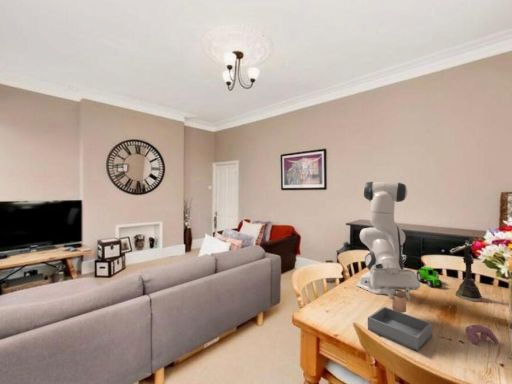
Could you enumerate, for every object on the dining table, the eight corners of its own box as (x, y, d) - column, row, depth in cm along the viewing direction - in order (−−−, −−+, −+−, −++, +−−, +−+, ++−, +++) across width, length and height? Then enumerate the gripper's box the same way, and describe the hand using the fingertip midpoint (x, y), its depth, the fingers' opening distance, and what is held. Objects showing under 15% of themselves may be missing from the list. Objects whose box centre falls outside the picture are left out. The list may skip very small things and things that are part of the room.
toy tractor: (427, 288, 156) (427, 272, 156) (414, 279, 172) (414, 264, 172) (446, 289, 154) (446, 273, 154) (432, 279, 171) (431, 265, 170)
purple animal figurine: (491, 343, 103) (484, 324, 106) (501, 344, 98) (493, 324, 102) (467, 343, 103) (461, 324, 106) (476, 344, 99) (469, 325, 102)
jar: (390, 309, 108) (390, 291, 108) (395, 305, 112) (395, 288, 112) (403, 313, 104) (403, 294, 104) (408, 309, 108) (408, 291, 108)
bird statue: (442, 295, 146) (441, 236, 145) (448, 288, 154) (447, 233, 154) (480, 304, 133) (479, 240, 133) (483, 297, 141) (483, 236, 141)
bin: (367, 329, 111) (367, 317, 111) (384, 317, 121) (384, 306, 121) (417, 351, 96) (417, 337, 96) (432, 336, 106) (431, 323, 105)
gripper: (410, 272, 118) (422, 302, 108) (366, 271, 120) (373, 300, 111) (415, 266, 114) (428, 296, 104) (369, 265, 116) (377, 294, 106)
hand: (399, 298), depth 107 cm, fingers closed on jar, 5 cm apart
